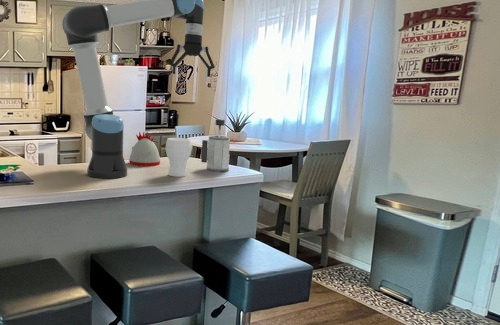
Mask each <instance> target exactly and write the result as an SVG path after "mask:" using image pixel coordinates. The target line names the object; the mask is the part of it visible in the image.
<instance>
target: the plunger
mask: <svg viewBox="0 0 500 325" xmlns="http://www.w3.org/2000/svg"><path fill="white" fill-rule="evenodd" d="M215 126H218V133H217V136H218V137H220V136H222V135H221V131H222V127H223V126H225V119H222V118H221V119H219V118H217V119H215Z"/></svg>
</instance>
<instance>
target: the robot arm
mask: <svg viewBox="0 0 500 325" xmlns="http://www.w3.org/2000/svg"><path fill="white" fill-rule="evenodd" d="M204 3H205V2H204V0H139V1H133V2H125V3H121V4H120V3H118V4H113V5H107V6H106V5H105V4H103V3H102V4H93V5H78V6H75V7H73V8H70V10H68V12H66V14H65V15H64V16H63V19H62V30H63V32H64V33H65V35H66V42H67V46H68V48H70V49H72V50H73V53H74V58H75V62H76V63H75V64H76V68H77V73H78V76H79V81H80V87H81V90H82V95H83V99H84V105H85V112H84V113H83V118H84V123H85V126H84V127H85V128H84V131H85V134H86V136H87V137H88V138H89V139H90V140H91V157H90V159H89V160H90V161H89V164H88V167H87V170H86V172H87V173H86V175H87V176H88V177H92V178H97V179H117V178H122V177H126V176H128V167H127V164H126V161H125V158H124V128H125V125H124V120H123V118H122V117H121V116H119V115H115V114H114V111H113V109H112V108H111V107H109V105H108V100H107V95H106V91H105V86H104V82H103V77H102V70H101V66H100V62H99V56H98V52H97V46H98V45H99V43H100V42H99V36H98V34H100V33H104V32H108V31H109V32H110V30H112V29H111V28H114V27H121V26H126V25H132V24H137V23H142V22H148V21H153V20H158V19H159V20H160V19H164V18H173V19H174V18H175V19H181V20H185V27H184V28H185V29H184V30H185V31H184V32H185V34H184V44H182V45H181V44H179V43H178V44H177V45H176V50H175V52H174V53H173V55H172V57H171V58H170V61H169V62H168V64H169V66H171V67H172V74H173V75H174V82H175V83H178V80H179V79H178V77H179V74H178V73H179V67H178V65H179V64H180V63H181V62H182V61H183V60H184V59H185V57H187V56H189V57H192V56H193V57H197V56H198V57H199V59H200V60H201V61H202V63H203V64H204V65H205V68H206V69H205V82H204V84H205V85H208V80H209V79H208V78H210V77H211V72H212V71H211V70H213V69H215V68H216V66H215V64H214V61H213V59H212V56H211V54H210V50H209V49H210V48H209V47H208V46H203V44H202V42H203V36H202V35H203V28H204V27H203V26H204V24H203V23H204V22H203V21H204V11H205V8H204V6H205V5H204ZM182 49H183V50H184V52H183V53H182V55H180V57H178V59H177V56H178V55H179V54H180V51H182ZM202 51H204V52H205V54H206V57H207V59H208V61H209V63H208V62H207V61H206V59H205V58H204V56H203V55H202V54H201V52H202ZM176 59H177V60H176Z"/></svg>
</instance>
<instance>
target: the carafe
mask: <svg viewBox="0 0 500 325" xmlns="http://www.w3.org/2000/svg"><path fill="white" fill-rule="evenodd" d="M201 142H202V143H201V144H202V145H201V160H200V161H201V163H206V170H207V171H211V172H218V173H220V172H223V173H224V172H228V171H229V170H230V169H229V162H230V144H231V143H230V142H231V140H230V136H227V135H220V137H218V135H209V136H208V139H207V140H206V139H202V141H201Z"/></svg>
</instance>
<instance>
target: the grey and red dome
mask: <svg viewBox="0 0 500 325" xmlns="http://www.w3.org/2000/svg"><path fill="white" fill-rule="evenodd" d="M135 136H136V138H137V142H135V144H134V145H133V146H132V147H131V152H130V155H129V158H128V159H129V160H128V161H129V162H128V163H129V165H131V166H135V167H136V166H137V167H156V166H159V165H161V158H160V153H159V150H158V148H157V145H156V144H155V143H154V142H153V141H154V139H155V136H153V137H152V138H151V136H152V134H151V133H150V134H149V133H148V131H146V134H145V131H143V133H141V131H139V133H138V134H137V133H136V134H135Z"/></svg>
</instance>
